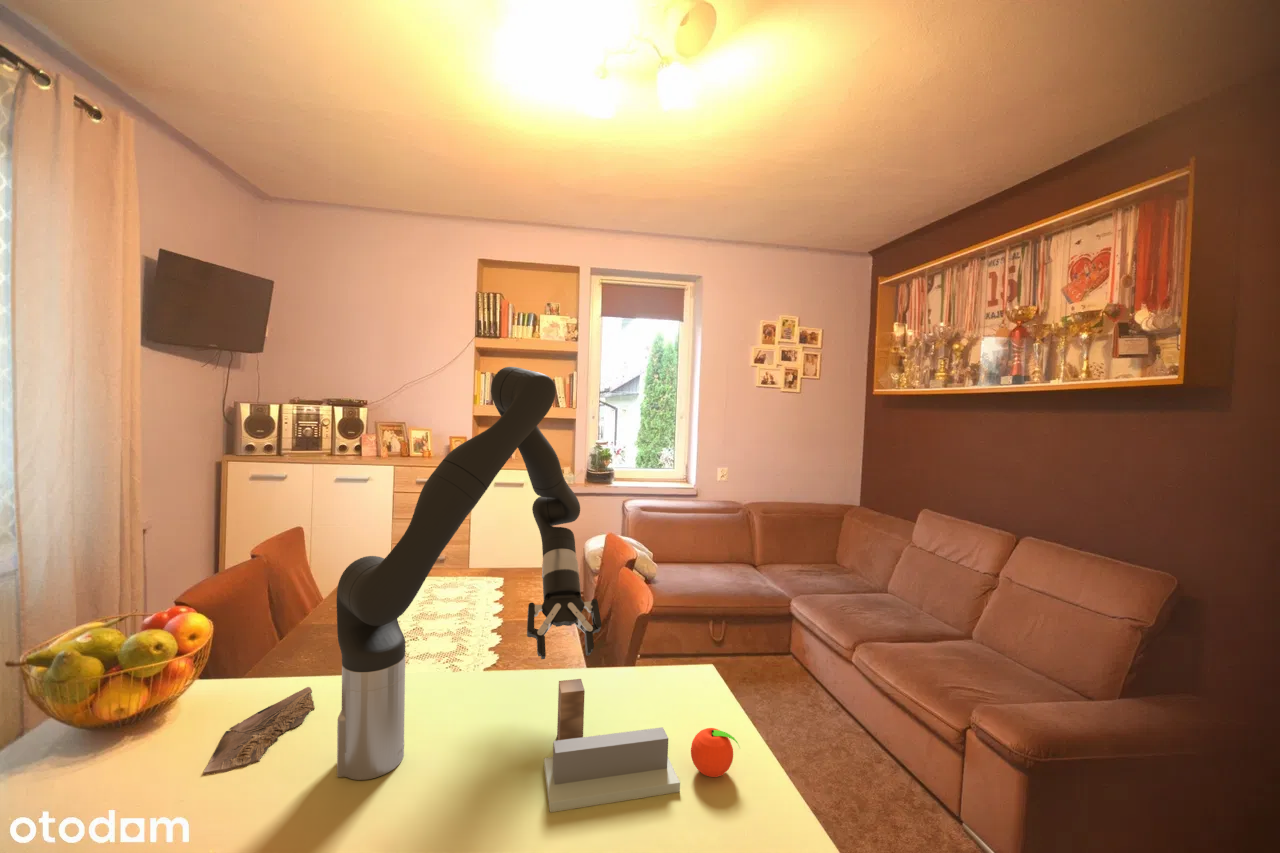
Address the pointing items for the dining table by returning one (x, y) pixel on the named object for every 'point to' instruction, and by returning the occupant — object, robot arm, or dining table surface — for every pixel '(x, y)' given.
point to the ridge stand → (609, 769)
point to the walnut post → (570, 709)
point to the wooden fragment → (259, 733)
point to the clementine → (712, 752)
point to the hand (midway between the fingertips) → (566, 655)
